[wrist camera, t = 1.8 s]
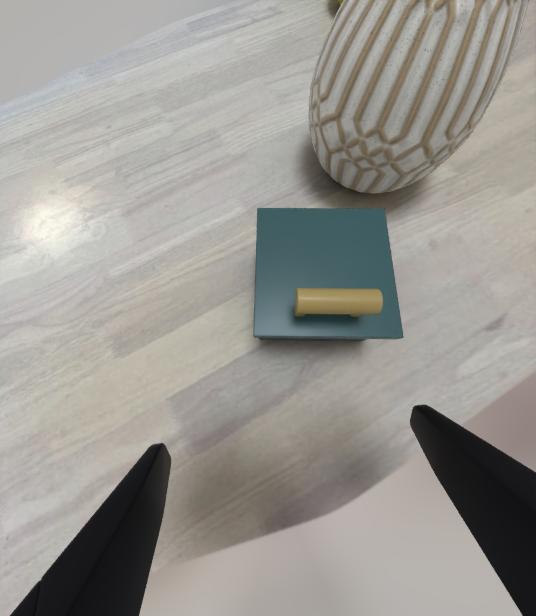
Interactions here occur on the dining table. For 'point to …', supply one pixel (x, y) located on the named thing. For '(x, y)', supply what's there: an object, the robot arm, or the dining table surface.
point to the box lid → (324, 275)
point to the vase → (406, 85)
